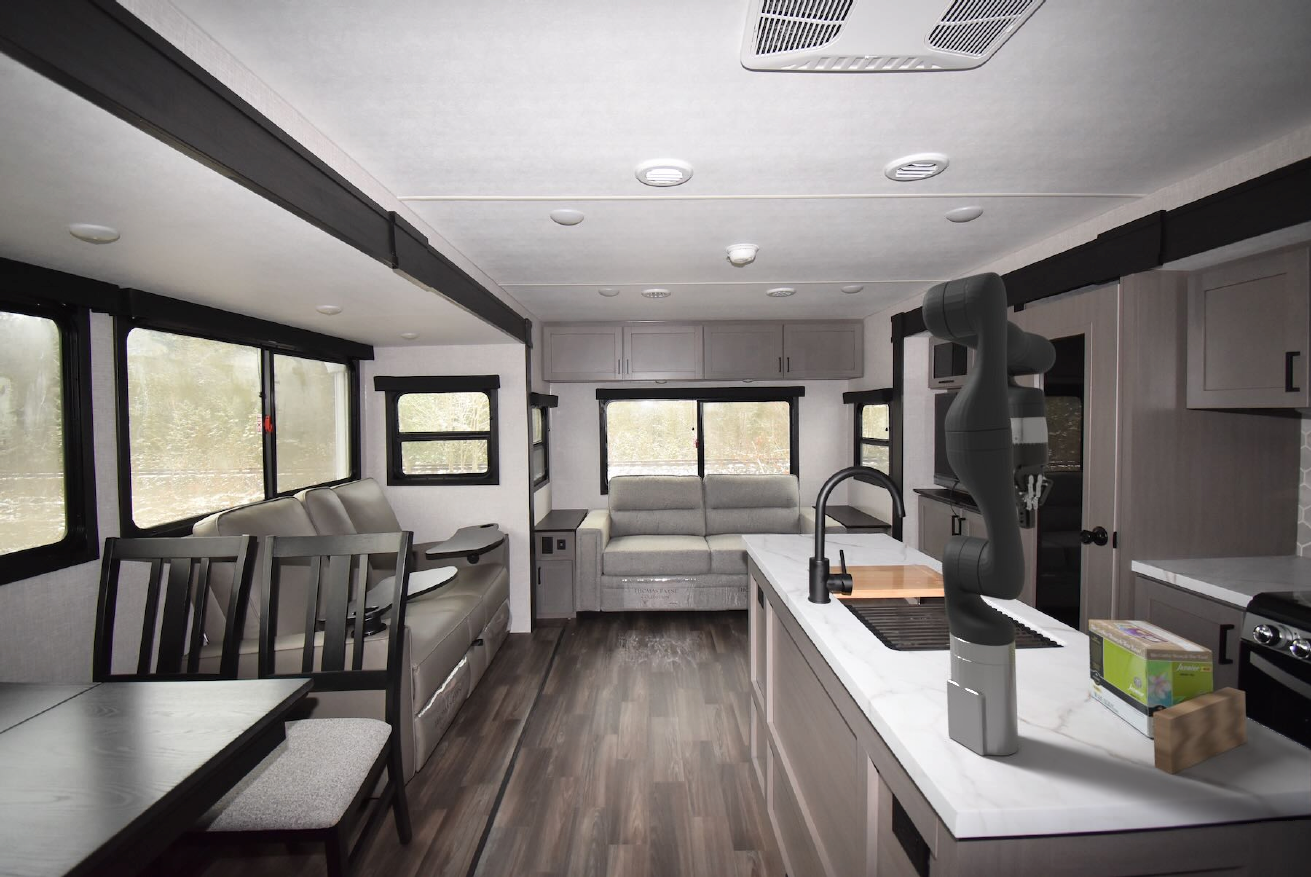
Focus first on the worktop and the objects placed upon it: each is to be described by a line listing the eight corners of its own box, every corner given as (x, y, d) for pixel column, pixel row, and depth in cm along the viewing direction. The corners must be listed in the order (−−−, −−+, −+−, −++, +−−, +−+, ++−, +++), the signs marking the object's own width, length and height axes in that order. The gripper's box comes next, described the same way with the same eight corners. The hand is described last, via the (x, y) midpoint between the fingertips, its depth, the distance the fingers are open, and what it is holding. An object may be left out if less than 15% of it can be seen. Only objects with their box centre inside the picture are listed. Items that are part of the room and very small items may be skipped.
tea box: (1218, 742, 86) (1215, 650, 86) (1147, 739, 88) (1144, 648, 88) (1147, 697, 101) (1145, 618, 101) (1088, 695, 103) (1085, 617, 103)
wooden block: (1171, 774, 79) (1169, 719, 79) (1154, 766, 81) (1153, 713, 81) (1246, 742, 86) (1245, 691, 86) (1229, 735, 88) (1228, 686, 88)
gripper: (1019, 442, 102) (1022, 534, 102) (1066, 439, 106) (1069, 527, 106) (982, 442, 109) (985, 528, 109) (1028, 439, 113) (1031, 522, 113)
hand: (1027, 528), depth 108 cm, fingers closed
